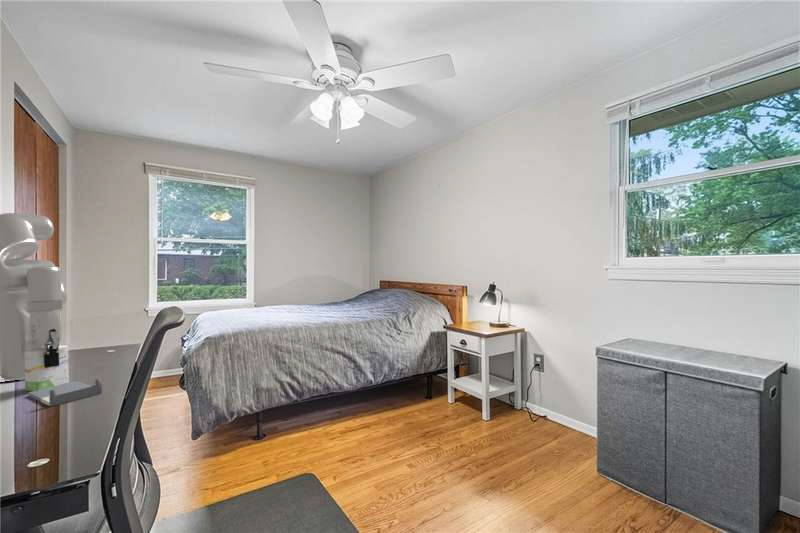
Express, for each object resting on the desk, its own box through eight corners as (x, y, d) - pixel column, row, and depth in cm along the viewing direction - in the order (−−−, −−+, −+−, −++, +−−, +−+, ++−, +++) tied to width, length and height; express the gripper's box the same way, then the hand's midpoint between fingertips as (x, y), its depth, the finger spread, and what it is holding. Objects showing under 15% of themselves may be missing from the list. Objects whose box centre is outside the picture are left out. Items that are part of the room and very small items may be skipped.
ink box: (37, 392, 104) (35, 341, 104) (24, 391, 105) (22, 341, 105) (70, 382, 113) (68, 335, 113) (57, 381, 114) (56, 335, 114)
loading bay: (28, 395, 101) (27, 381, 101) (77, 384, 111) (76, 371, 110) (51, 406, 93) (50, 391, 93) (102, 393, 102) (101, 379, 102)
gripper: (18, 307, 110) (20, 365, 110) (38, 309, 101) (40, 372, 102) (51, 304, 117) (53, 359, 117) (72, 306, 108) (74, 365, 108)
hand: (47, 364), depth 109 cm, fingers open, 6 cm apart
